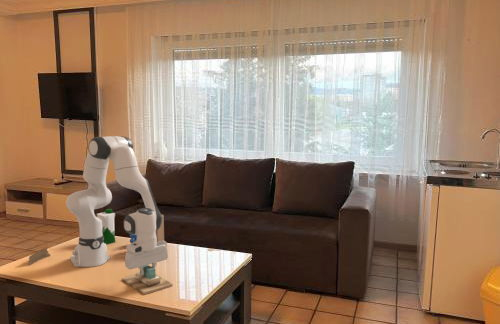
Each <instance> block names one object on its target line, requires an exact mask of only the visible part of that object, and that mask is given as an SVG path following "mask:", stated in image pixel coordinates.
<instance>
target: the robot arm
mask: <svg viewBox="0 0 500 324" xmlns="http://www.w3.org/2000/svg"><path fill="white" fill-rule="evenodd" d="M87 149H88V151H87V155H86V159H85V162H84V168H83V173H82V178H83V180H84V181H85V182H86V183H87V184H88V186H87V188H86V189H83V190H77V191H75V192H73V193H70V194H69V195H68V196H67V198H66V200H65V206H66V208H67V209H68V211H69V212H70V213H72V214H73V215H74V216H75V217H76V219H77V222H78V227H79V236H78V237H79V238H78V244H77V245H76V246H75V247H74V250H72V251H71V252H72V253H71V254H72V255H71V256H69V260H70V261H71V263H72V266H73V267H75V268H78V267H82V268H91V267H98V266H101V265H104V264H106V263H107V261H108V260H110V259H111V256H110V255H108V248H107V244H105V243H104V237H103V234H102V221H101V219H99V218H98V217H97V215H96V214H95V210H97V209H102V208H104V207H106V206H108V205H109V204H111V202H112V200H113V196H112V195H113V194H112V192H111V190H110V189H109V188H108V186H107V181H106V180H107V174H108V169H109V163H110V160H111V162H112V164H113V169H114V170H113V171H114V176H115V180H116V181H117V183H118V185H120V186H121V187H123V188H126V189H129V190H134V191H135V192H137V193H139V194H140V195H141V198H142V201H143V203H144V204H143V205H144V207H143V208H139V209H137V210H136V212H133V213H129V214H127V215H126V216H125V217H124V219H123V230H124V231H125V232H126V233H127V234H129V235H130V234H136V235H137V240H136V241H134V242H133V243H129V244H128V245H126V248H125V249H126V250H127V251H126V253H125V258H124V266H125V268H126V269H128V270H133V269H137V268H138V269H139V272H140V271H141V275H145V274H146V271H144V270H143V269H142V268H143V266H145V265H149V266H150V265H151V267H153V268H155V269H156V267H157V263H160V262H162V261H166V260H168V258H169V254H168V243H167V241H166V240H165V239H164V240H162V241H158V242H157V237H156V233H155V232H156V230H158V229H159V228H160V226H161V225H162V221H163V219H162V216H161V212H160V210H159V208H158V205H157V202H156V200H155V197H154V194H153V191H152V189H151V185H150V183H149V181H148V179H147V178H145V177H144V176H143V175H142V173H141V171H140V167H139V164H138V159H137V156H136V153H135V151H134V144H133V141H132V140H131V138H129V137H127V136H123V135H122V136H119V135H108V136H96V137H92V138H91V139H90V140H89V143H88V147H87Z"/></svg>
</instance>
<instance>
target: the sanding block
mask: <svg viewBox="0 0 500 324" xmlns="http://www.w3.org/2000/svg"><path fill="white" fill-rule="evenodd" d="M142 269H143V270H144V271H146V274H145V275H141V271H140V270H139V272H137V273H135V274H136V279H137V280H139V281H140V282H142V283H144V284H145V285H147V286H152V285H155V284H158V283H160V277H161V276H160V277H158V276H159V275H158V276H157V274H156V267H155V268H153V267H152V265H150V264H149V265H145V266H143V268H142ZM155 274H156V275H155Z"/></svg>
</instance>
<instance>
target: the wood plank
mask: <svg viewBox="0 0 500 324" xmlns="http://www.w3.org/2000/svg"><path fill="white" fill-rule="evenodd" d="M50 256H51V254H50V252H49V250H48V247H45V248H42V249H38V251H36V252H34V253H32V254H31V255H30V256H29V257H28V259H29V260H28V264H29V266H32V265H33V264H35V263H37V262H39V261H41V260H43V259H46V258H48V257H50Z"/></svg>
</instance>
